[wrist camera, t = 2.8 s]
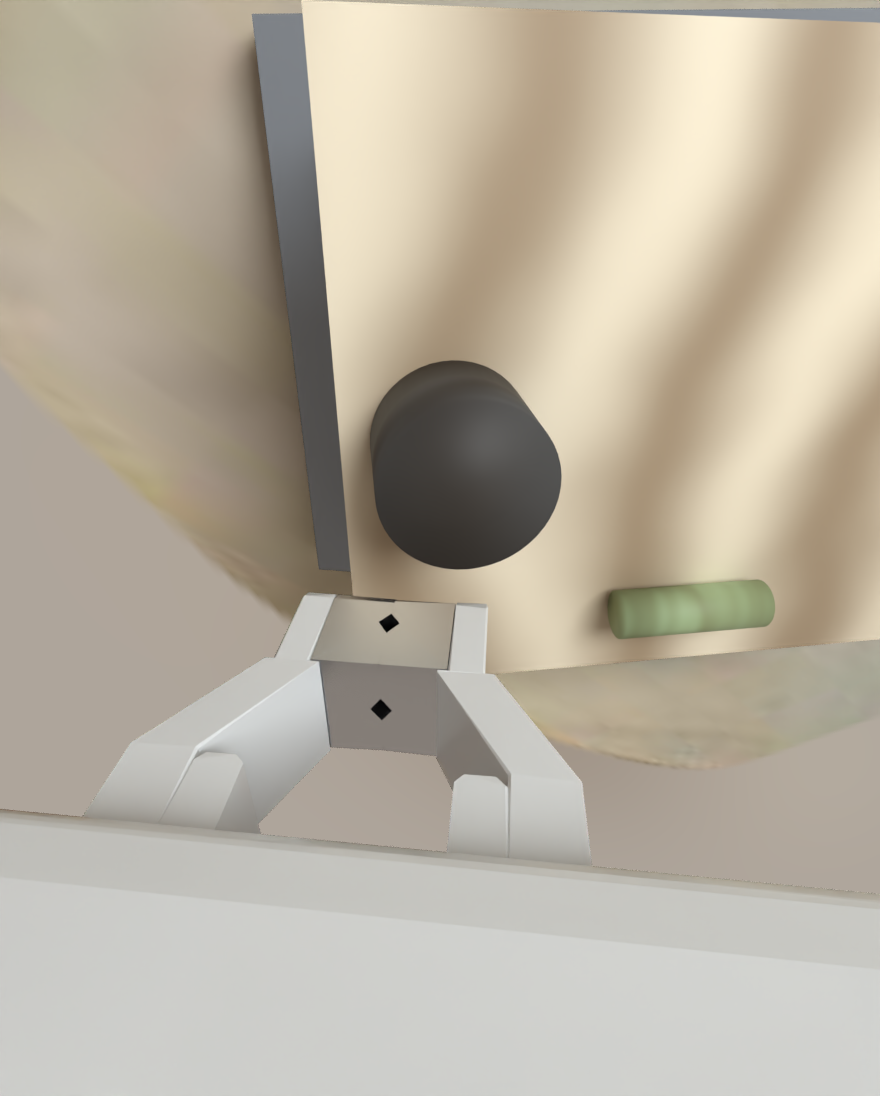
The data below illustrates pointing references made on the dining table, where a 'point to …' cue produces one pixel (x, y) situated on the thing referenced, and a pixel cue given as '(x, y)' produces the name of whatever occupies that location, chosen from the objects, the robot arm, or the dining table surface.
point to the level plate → (605, 322)
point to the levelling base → (304, 250)
